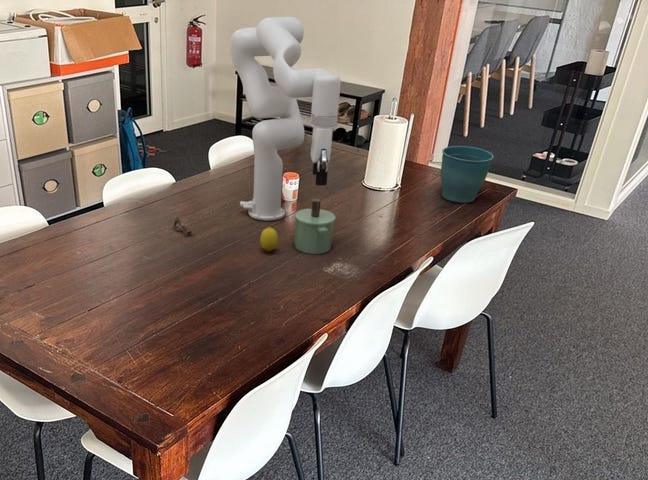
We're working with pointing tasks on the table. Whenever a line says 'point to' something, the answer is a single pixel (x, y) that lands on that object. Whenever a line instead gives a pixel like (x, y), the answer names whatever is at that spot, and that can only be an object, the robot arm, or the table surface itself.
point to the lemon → (269, 239)
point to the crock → (313, 237)
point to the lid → (315, 215)
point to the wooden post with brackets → (188, 232)
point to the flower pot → (463, 172)
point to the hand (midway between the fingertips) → (319, 179)
